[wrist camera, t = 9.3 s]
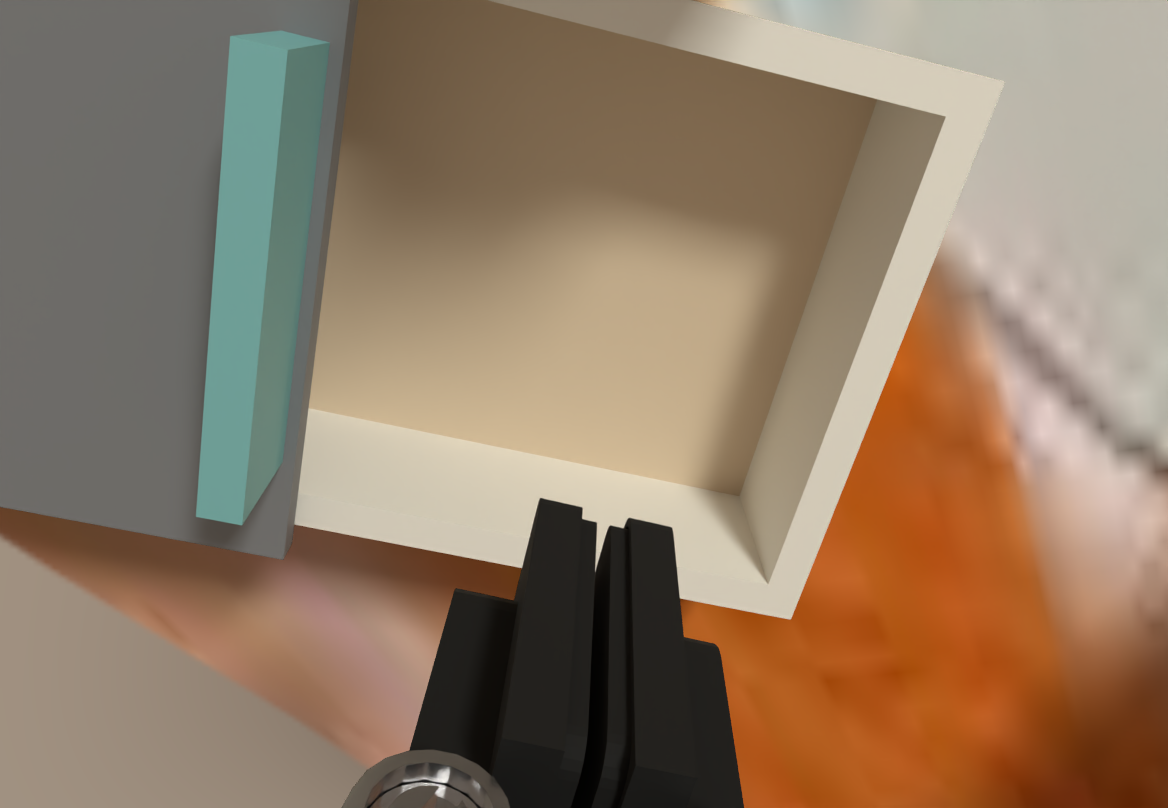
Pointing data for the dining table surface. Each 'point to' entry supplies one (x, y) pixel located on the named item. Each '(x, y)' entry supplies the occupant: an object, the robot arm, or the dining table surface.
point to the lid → (165, 258)
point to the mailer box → (621, 276)
